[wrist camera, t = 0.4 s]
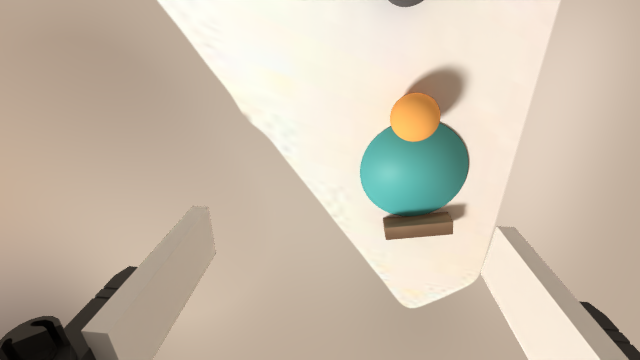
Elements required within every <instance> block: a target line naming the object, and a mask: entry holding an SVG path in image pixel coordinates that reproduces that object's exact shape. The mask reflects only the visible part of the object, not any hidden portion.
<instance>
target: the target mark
mask: <svg viewBox="0 0 640 360" xmlns="http://www.w3.org/2000/svg"><path fill="white" fill-rule="evenodd" d="M467 172H468V155H467V151H466V149H465V146H464V144H463V142H462V141H461V139H460V138H459V137H458V136H457V135H456V134H455V133H454V132H453V131H452V130H451V129H449V128H448V127H446V126H444V125H442V124H440V123H439V125H438V127H437V129H436V130H435V132H434V133H433V134H432V135H431V136H429V137H428V138H426V139H424V140H421V141H416V142H411V141H406V140H404V139H402V138H400V137H399V136H398V135H396V133H395V132H394V131H393V129H392V127H389V128H387V129H385V130H384V131H382V132H381V133H380V134H379V135H377V136H376V137H375V139H374V140H373V141H372V142H371V143H370V145H369V146H368V147H367V149H366V151H365V153H364V156H363V158H362V162H361V168H360V177H361V183H362V186H363V189H364V191H365V193H366V195H367V196H368V197H369V199H370V200H371V201H372V202H373V203H374V204H375V205H377V206H378V207H379V208H381V209H383V210H384V211H387V212H389V213H392V214H395V215H400V216H418V215H424V214H427V213H430V212H433V211H435V210H437V209H439V208H441V207H443V206H444V205H446V204H447V203H448V202H449V201H451V200H452V199H453V198H454V197H455V196H456V194H457V193H458V192H459V191H460V189H461V187H462V186H463V184H464V181H465V179H466V176H467Z"/></svg>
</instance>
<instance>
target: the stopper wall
mask: <svg viewBox="0 0 640 360" xmlns="http://www.w3.org/2000/svg"><path fill="white" fill-rule="evenodd" d="M383 223H384V232H385V237H386V240H391V239H402V238H414V237H425V236H437V235H449V234H453V221H452V219H451V217H450V216H449V214H448V212H443V213H433V214H424V215H418V216H402V217H392V218H383Z"/></svg>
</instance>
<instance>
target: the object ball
mask: <svg viewBox="0 0 640 360" xmlns="http://www.w3.org/2000/svg"><path fill="white" fill-rule="evenodd" d="M439 122H440V109H439V106H438V104H437V103H436V101H435V100H434V99H433V98H432V97H430V96H428V95H426V94H423V93H410V94H407V95H405V96H403V97H402V98H400V99H399V100H398V101H397V102H396V103H395V105H394V106H393V108H392V111H391V114H390V123H391V127H392V129H393V131H394V132H395V133H396V135H398V136H399V137H400V138H402V139H404V140H406V141H411V142H416V141H421V140H424V139H426V138H428V137H429V136H431V135H432V134H433V133H434V132H435V130H436V129H437V127H438V125H439Z"/></svg>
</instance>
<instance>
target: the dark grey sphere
mask: <svg viewBox="0 0 640 360" xmlns="http://www.w3.org/2000/svg"><path fill="white" fill-rule="evenodd" d="M389 1H390V2H391V3H392V4H394V5H397V6H400V7H410V6H414V5H417V4H419V3H420V2H422V1H423V0H389Z"/></svg>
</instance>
